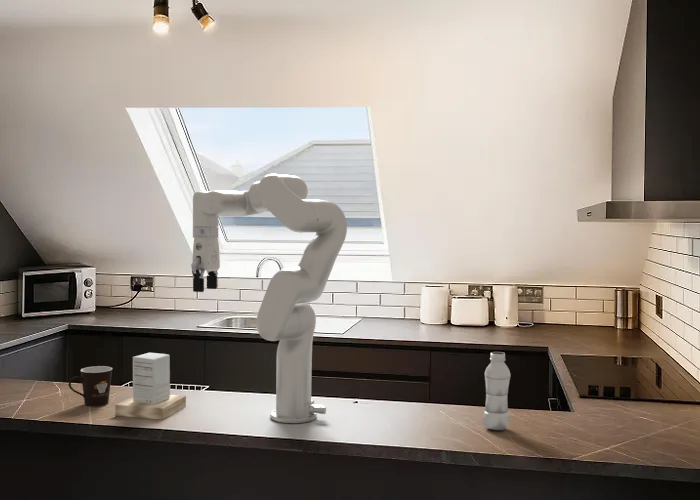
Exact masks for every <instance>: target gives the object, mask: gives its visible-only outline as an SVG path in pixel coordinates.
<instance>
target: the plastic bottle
mask: <svg viewBox="0 0 700 500" xmlns="http://www.w3.org/2000/svg"><path fill="white" fill-rule="evenodd" d="M489 357H490V358H489V360H490V363H489V364H488V366H486V368H485V371H484V381H485V393H486V394H485V406H484V411H483V415H482V422H483V425H484V427H485V428H486V429H488V430H491V431H492V430H494V431H503V430H507V428H508V427H509V424H510V415H509V409H508V408H509V407H508V393H509V385H510V380H511V372H510V369H509V367H508V365H507V364H506V363H505V361H506V353H505V352H502V351H492V352H490V356H489Z"/></svg>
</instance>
